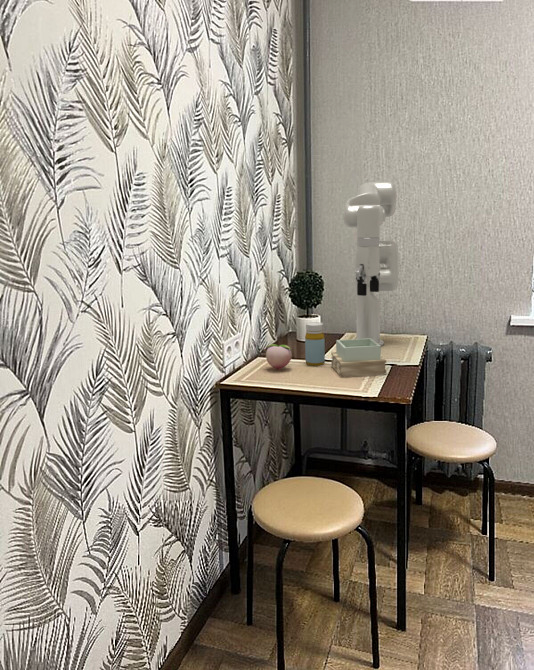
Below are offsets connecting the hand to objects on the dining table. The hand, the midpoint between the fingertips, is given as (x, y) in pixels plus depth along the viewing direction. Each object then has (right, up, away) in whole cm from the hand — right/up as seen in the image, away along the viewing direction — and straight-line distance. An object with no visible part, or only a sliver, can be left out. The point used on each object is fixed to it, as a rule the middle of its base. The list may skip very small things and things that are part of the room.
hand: (368, 293), depth 211 cm
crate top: (-3, -22, +3) cm, 22 cm away
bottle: (-17, -25, +15) cm, 34 cm away
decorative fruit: (-30, -27, +9) cm, 41 cm away
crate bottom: (-3, -27, +4) cm, 27 cm away
